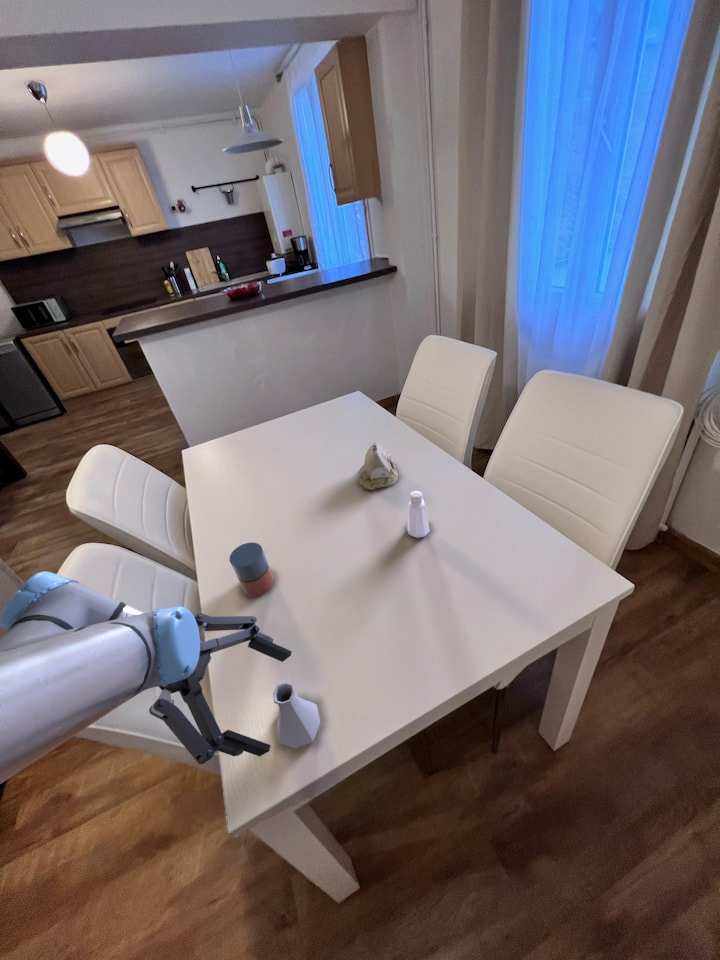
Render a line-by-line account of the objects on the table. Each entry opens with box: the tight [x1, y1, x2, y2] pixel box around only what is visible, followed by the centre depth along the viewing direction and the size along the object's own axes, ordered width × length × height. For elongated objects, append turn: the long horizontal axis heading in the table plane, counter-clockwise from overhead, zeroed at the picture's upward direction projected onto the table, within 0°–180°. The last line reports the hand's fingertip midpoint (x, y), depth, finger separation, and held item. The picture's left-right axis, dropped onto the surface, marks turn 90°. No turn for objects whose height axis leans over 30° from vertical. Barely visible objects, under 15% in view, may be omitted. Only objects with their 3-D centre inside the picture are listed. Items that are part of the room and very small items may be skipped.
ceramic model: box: [358, 442, 399, 491], centre depth 114 cm, size 14×11×10 cm
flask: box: [272, 681, 322, 749], centre depth 62 cm, size 7×7×10 cm
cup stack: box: [229, 542, 275, 597], centre depth 87 cm, size 7×7×9 cm
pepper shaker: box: [406, 490, 431, 539], centre depth 93 cm, size 5×5×11 cm
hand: (277, 699), depth 60 cm, fingers open, 13 cm apart
